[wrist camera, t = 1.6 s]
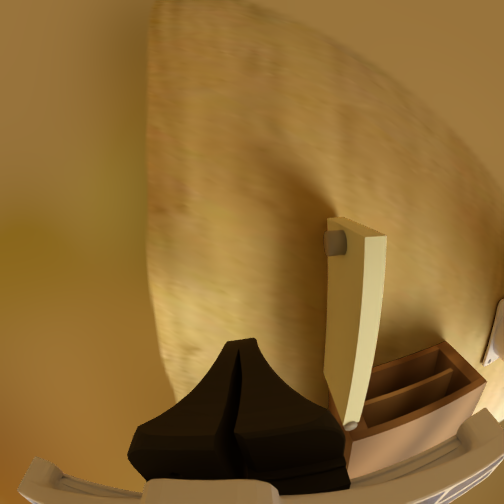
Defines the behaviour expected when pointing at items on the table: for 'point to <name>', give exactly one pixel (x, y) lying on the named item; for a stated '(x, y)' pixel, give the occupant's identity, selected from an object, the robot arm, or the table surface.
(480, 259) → the table surface
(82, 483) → the robot arm
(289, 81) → the table surface
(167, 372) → the table surface
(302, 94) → the table surface
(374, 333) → the door
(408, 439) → the cabinet
